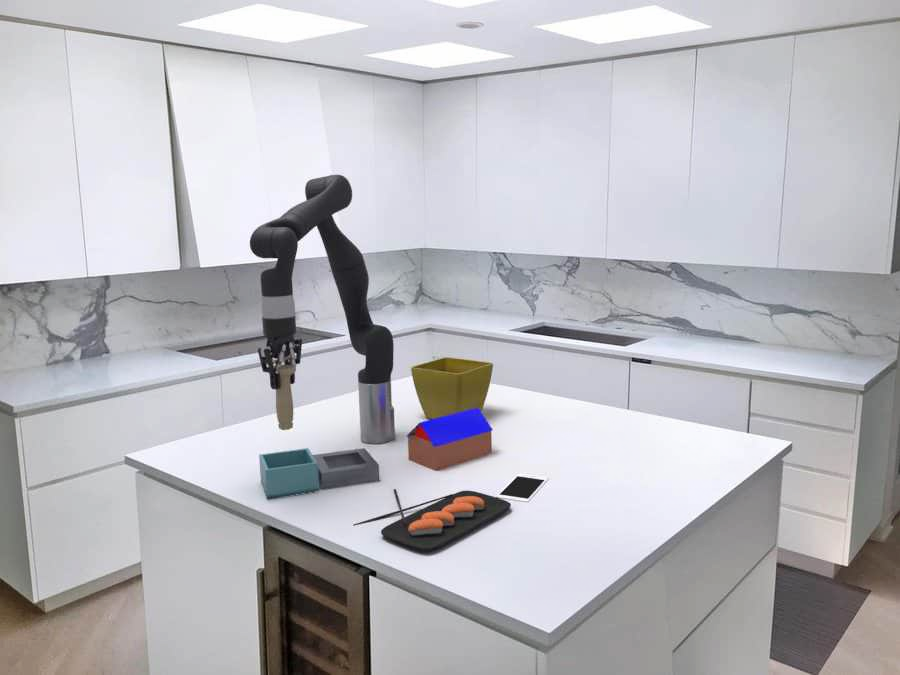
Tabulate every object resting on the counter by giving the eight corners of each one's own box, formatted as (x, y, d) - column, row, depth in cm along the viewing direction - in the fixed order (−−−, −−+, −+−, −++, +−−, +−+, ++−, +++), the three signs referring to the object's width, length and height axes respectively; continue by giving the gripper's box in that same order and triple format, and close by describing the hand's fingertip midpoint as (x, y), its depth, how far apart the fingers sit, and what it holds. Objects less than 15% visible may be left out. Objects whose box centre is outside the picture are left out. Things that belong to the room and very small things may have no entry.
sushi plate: (427, 560, 144) (427, 542, 143) (324, 520, 163) (323, 504, 162) (516, 511, 166) (516, 494, 165) (416, 481, 185) (415, 466, 184)
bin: (309, 474, 189) (308, 448, 188) (319, 491, 178) (317, 463, 177) (260, 481, 185) (259, 454, 184) (267, 499, 174) (265, 470, 173)
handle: (292, 432, 176) (288, 369, 173) (268, 430, 178) (264, 368, 175) (303, 426, 180) (299, 365, 177) (280, 424, 182) (276, 363, 180)
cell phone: (549, 479, 183) (549, 477, 183) (527, 504, 169) (527, 501, 169) (518, 475, 187) (518, 473, 187) (495, 499, 172) (495, 496, 172)
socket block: (365, 462, 197) (364, 448, 196) (379, 480, 184) (378, 465, 183) (311, 470, 192) (310, 455, 192) (322, 489, 179) (321, 473, 179)
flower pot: (446, 405, 250) (445, 356, 247) (495, 414, 239) (494, 362, 236) (410, 419, 235) (409, 367, 232) (460, 429, 224) (459, 374, 221)
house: (406, 460, 199) (405, 417, 197) (463, 443, 211) (463, 403, 209) (435, 472, 190) (434, 427, 188) (493, 453, 202) (492, 411, 200)
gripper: (272, 320, 166) (277, 395, 169) (310, 310, 179) (314, 380, 182) (245, 318, 169) (250, 392, 172) (284, 309, 182) (288, 378, 185)
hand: (283, 385), depth 177 cm, fingers closed on handle, 5 cm apart
